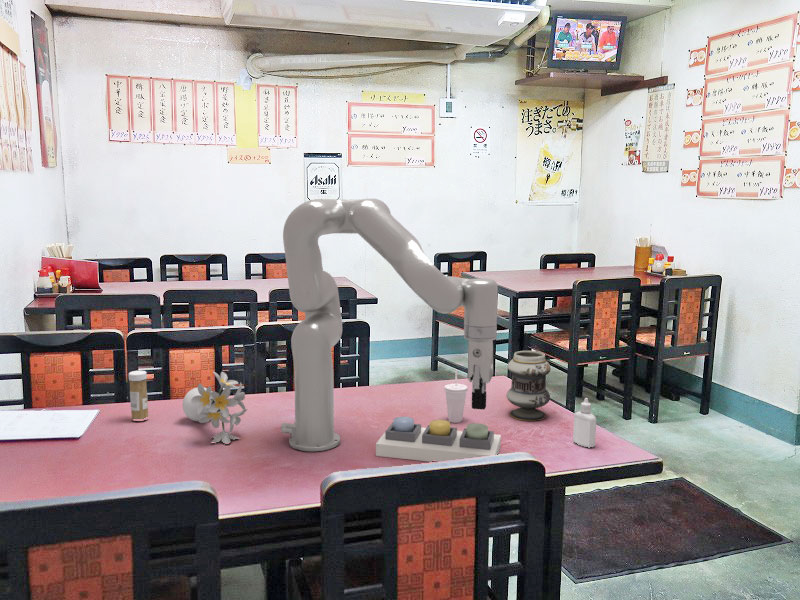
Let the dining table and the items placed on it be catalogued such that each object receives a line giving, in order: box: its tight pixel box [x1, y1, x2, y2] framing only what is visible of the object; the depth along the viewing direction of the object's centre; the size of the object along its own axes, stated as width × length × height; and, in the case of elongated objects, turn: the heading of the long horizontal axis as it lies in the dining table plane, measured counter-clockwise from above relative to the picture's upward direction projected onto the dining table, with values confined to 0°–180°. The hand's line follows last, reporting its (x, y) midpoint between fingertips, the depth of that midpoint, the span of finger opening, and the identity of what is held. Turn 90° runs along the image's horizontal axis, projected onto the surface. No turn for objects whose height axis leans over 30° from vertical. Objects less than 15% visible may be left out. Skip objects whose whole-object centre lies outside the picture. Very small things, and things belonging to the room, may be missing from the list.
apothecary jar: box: [506, 350, 552, 422], centre depth 186 cm, size 12×12×18 cm
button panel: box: [375, 422, 502, 463], centre depth 160 cm, size 28×14×5 cm, turn 76°
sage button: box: [466, 422, 489, 440], centre depth 157 cm, size 5×5×2 cm
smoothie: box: [443, 370, 469, 424], centre depth 181 cm, size 6×6×14 cm
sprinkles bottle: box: [128, 370, 149, 419], centre depth 179 cm, size 5×5×13 cm
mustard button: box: [429, 419, 451, 436], centre depth 159 cm, size 5×5×2 cm
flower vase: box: [182, 371, 248, 444], centre depth 172 cm, size 13×18×25 cm
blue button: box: [392, 416, 415, 432], centre depth 161 cm, size 5×5×2 cm
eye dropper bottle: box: [572, 397, 597, 449], centre depth 164 cm, size 4×6×12 cm
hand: (478, 407), depth 156 cm, fingers closed
